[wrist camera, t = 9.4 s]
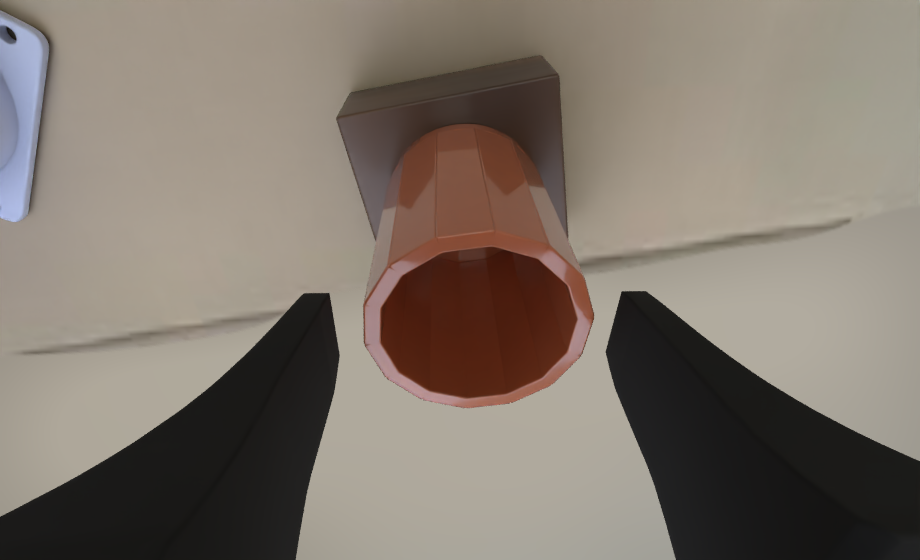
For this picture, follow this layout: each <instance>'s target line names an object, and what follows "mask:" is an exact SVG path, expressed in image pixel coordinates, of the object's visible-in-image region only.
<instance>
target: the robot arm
mask: <svg viewBox="0 0 920 560" xmlns="http://www.w3.org/2000/svg"><path fill="white" fill-rule="evenodd" d="M7 27H9V28H10V29H11V30H13V32H14V33H15V35H16V39H17V40H16V41H15V40H14V39H12V38H11V37H10V36H9V34H8V33H7V29H6V28H7ZM48 56H49V44H48V42H47V40H46V38H45V36H44V35H43V34H42V33H41V32H40V31H39V30H37V29H36V28H34V27H32V26H30V25H28V24H26V23H25V22H23V21H21V20H19V19H17V18H15V17H13V16H11V15H9V14H7V13H5V12H3V11H1V10H0V218H3V219H5V220H8V221H12V222H18V221H20V220H22V219H23V218H25V217H26V216H27V214H28V210H29V203H30V195H31V187H32V180H33V172H34V164H35V157H36V149H37V141H38V133H39V126H40V118H41V110H42V103H43V95H44V87H45V79H46V72H47V64H48ZM606 355H607V359H608V363H609V368H610V372H611V375H612V379H613V382H614V386H615V389H616V392H617V394H618V397H619V399H620V401H621V404H622V406H623V409H624V411H625V414H626V416H627V418H628V421H629V423H630V426H631V428H632V430H633V433H634V435H635V438H636V440H637V442H638V445H639V447H640V450H641V452H642V454H643V457H644V459H645V461H646V464H647V466H648V469H649V471H650V474H651V477H652V480H653V482H654V485H655V488H656V492H657V495H658V499H659V502H660V505H661V508H662V512H663V515H664V518H665V521H666V525H667V529H668V533H669V536H670V540H671V543H672V547H673V550H674V554H675V558H676V560H920V461H918V460H915V459H913V458H911V457H909V456H907V455H904V454H902V453H900V452H898V451H896V450H893V449H891V448H889V447H887V446H885V445H882V444H880V443H878V442H876V441H874V440H872V439H870V438H868V437H865V436H863V435H861V434H859V433H857V432H855V431H853V430H851V429H849V428H847V427H845V426H843V425H841V424H840V423H838V422H836V421H834V420H832V419H830V418H828V417H826V416H824V415H823V414H821V413H819V412H817V411H815V410H813V409H811V408H809V407H808V406H806V405H804V404H803V403H801V402H799V401H797V400H796V399H794V398H793V397H791V396H789V395H788V394H786V393H784V392H783V391H781V390H779V389H777V388H776V387H774V386H773V385H771V384H770V383H768V382H766V381H765V380H763V379H762V378H760V377H759V376H757V375H756V374H754V373H752V372H751V371H750V370H748V369H747V368H745V367H744V366H742V365H741V364H740V363H738V362H737V361H736V360H734V359H733V358H731V357H730V356H729V355H727V354H726V353H725V352H723V351H722V350H720V349H719V348H718V347H716V346H715V345H714V344H712V343H711V342H710V341H708V340H707V339H706V338H705V337H703V336H702V335H701V334H700V333H698V332H697V331H696V330H695V329H693V328H692V327H691V326H689V325H688V324H687V323H686V322H684V321H683V320H682V319H681V318H680V317H678V316H677V315H676V314H675V313H673V312H672V311H671V310H669V309H668V308H667V307H666V306H665V305H663V304H662V303H661V302H659V301H658V300H657V299H655V298H654V297H653V296H652V295H650V294H649V293H648V292H646V291H625V292H624V291H622V292H621V296H620V300H619V304H618V307H617V311H616V315H615V319H614V323H613V326H612V330H611V334H610V338H609V341H608V345H607V349H606ZM338 363H339V349H338V343H337V337H336V331H335V325H334V319H333V312H332V306H331V300H330V294H329V293H304V294H303V295H302V296H301V297H300V298H299V299H298V300H297V301H296V302H295V303H294V304H293V305H292V306H291V307H290V309H289V310H288V311H287V312H286V313H285V314H284V315H283V316H282V317H281V318H280V320H279V321H278V322H277V323H276V324H275V325H274V326H273V327H272V328H271V329H270V330H269V331H268V332H267V333H266V334H265V336H263V338H262V339H261V340H260V341H259V342H258V343H257V344H256V345H255V346H254V347H253V348H252V349H251V350H250V351H249V352H248V353H247V354H246V355H245V356H244V357H243V358H242V359H240V360H239V361H238V362H237V363H236V364H235V365H234V366H233V367H232V368H231V369H230V370H229V371H228V372H226V373H225V374H224V375H223V376H222V377H221V378H220V379H219V380H218V381H216V382H215V383H214V384H213V385H212V386H211V387H209V388H208V389H207V390H206V391H205V392H203V393H202V394H201V395H200V396H198V397H197V398H196V399H194V400H193V401H192V402H190V403H189V404H188V405H187V406H185V407H184V408H183V409H181V410H180V411H179V412H177V413H176V414H175V415H173V416H172V417H170V418H169V419H167V420H166V421H164V422H163V423H161V424H160V425H159V426H157V427H156V428H154V429H153V430H151V431H150V432H148V433H147V434H145V435H144V436H143V437H141V438H140V439H138V440H137V441H135V442H134V443H132V444H131V445H129V446H127V447H126V448H124V449H122V450H121V451H119V452H118V453H116V454H114V455H113V456H111V457H110V458H108V459H106V460H105V461H103V462H101V463H99V464H98V465H96V466H94V467H93V468H91V469H89V470H87V471H86V472H84V473H82V474H81V475H79V476H77V477H75V478H73V479H72V480H70V481H68V482H66V483H64V484H63V485H61V486H59V487H57V488H55V489H53V490H51V491H49V492H47V493H45V494H43V495H41V496H39V497H38V498H36V499H34V500H32V501H30V502H28V503H26V504H24V505H22V506H20V507H19V508H17V509H15V510H13V511H11V512H9V513H7V514H5V515H3V516H1V517H0V560H296V553H297V547H298V541H299V535H300V529H301V523H302V517H303V511H304V506H305V500H306V494H307V490H308V486H309V482H310V477H311V473H312V470H313V466H314V463H315V459H316V456H317V452H318V448H319V445H320V441H321V438H322V434H323V431H324V427H325V424H326V420H327V416H328V413H329V409H330V406H331V402H332V398H333V395H334V390H335V384H336V377H337V370H338Z"/></svg>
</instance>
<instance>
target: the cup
mask: <svg viewBox="0 0 920 560" xmlns="http://www.w3.org/2000/svg"><path fill="white" fill-rule="evenodd" d="M363 312H364V313H363V316H364V317H363V318H364V344H365V347H366V348H367V350H368V351H369V353H370V354H371V356H372V357H373V359H374V360H375V362H376V363H377V365H378V366H379V368H380V370H381V371H382V373H383V374H384V376H385V377H387V379H388V380H390V381H392V382H393V383H395V384H397V385H399V386H400V387H402V388H404V389H405V390H407V391H408V392H410V393H412V394H413V395H415V396H416V397H418V398H420V399H423V400H425V401H431V402H435V403H441V404H446V405H451V406H456V407H461V408H474V407H483V406H492V405H500V404H509V403H510V402H511V403H513V402H515V401H517V400H520V399H522V398H524V397H526V396H529V395H531V394H533V393H535V392H537V391H540V390H542V389H544V388H546V387H549V386H550V385H551V384H553V383H554V382H555V381H556V380H557V379H558V378H559V377H560V376H561V375H562V374H563V373H564V372H565V371H567V370H568V368H570V367H571V365H573V363H574V362H575V361H577V359H579V358H580V356H581V355H582V353H583V350H584V347H585V344H586V341H587V338H588V335H589V332H590V329H591V326H592V323H593V320H594V312H593V308H592V305H591V301H590V297H589V293H588V289H587V285H586V282H585V278H584V276H583V273H582V271H581V269H580V266H579V264H578V262H577V259H576V257H575V255H574V252H573V250H572V248H571V246H570V243H569V241H568V239H567V236H566V234H565V232H564V229H563V227H562V225H561V223H560V220H559V218H558V216H557V213H556V211H555V209H554V206H553V204H552V202H551V200H550V197H549V195H548V193H547V190H546V188H545V186H544V183H543V181H542V179H541V177H540V174H539V172H538V170H537V167H536V166H535V164H534V163H533V162H532V161H531V159H530V157H529V155H528V154H527V153H526V152H525V150H524V149H523V148H522V147H521V146H520V145H519V144H518V143H517V142H516V141H515V140H513V139H512V138H511V137H509V136H508V135H506V134H504V133H502V132H500V131H498V130H496V129H493V128H490V127H487V126H482V125H477V124H455V125H449V126H445V127H442V128H439V129H436V130H433V131H431V132H429V133H427V134H425V135H424V136H422V137H421V138H419V139H418V140H416V141H415V142H414V143H413V144H412V145H411V146H409V148H408V149H407V150H406V151H405V152H404V153H403V154H402V156H401V158H400V159H399V161H398V162H397V164H396V166H395V168H394V170H393V173H392V177H391V179H390V181H389V183H388V186H387V191H386V196H385V201H384V206H383V211H382V216H381V221H380V226H379V231H378V235H377V240H376V245H375V250H374V255H373V260H372V265H371V270H370V275H369V280H368V285H367V290H366V295H365V299H364V304H363Z"/></svg>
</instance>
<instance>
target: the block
mask: <svg viewBox="0 0 920 560" xmlns="http://www.w3.org/2000/svg"><path fill="white" fill-rule="evenodd" d="M336 120H337V123H338V126H339V129H340V132H341V135H342V138H343V141H344V145H345V148H346V151H347V154H348V157H349V160H350V163H351V166H352V169H353V172H354V175H355V179H356V182H357V185H358V188H359V191H360V194H361V197H362V200H363V203H364V206H365V209H366V213H367V216H368V219H369V222H370V225H371V228H372V231H373V234H374V237H375V240H377V235H378V231H379V226H380V221H381V216H382V211H383V206H384V201H385V196H386V191H387V186H388V183H389V181H390V179H391V177H392V173H393V170H394V168H395V166H396V164H397V162H398V161H399V159H400V158H401V156H402V154H403V153H404V152H405V151H406V150H407V149H408V148H409V146H411V145H412V144H413V143H414V142H415V141H416V140H418V139H419V138H421V137H422V136H424V135H425V134H427V133H429V132H431V131H433V130H436V129H439V128H442V127H445V126H449V125H455V124H477V125H482V126H487V127H490V128H493V129H496V130H498V131H500V132H502V133H504V134H506V135H508V136H509V137H511V138H512V139H513V140H515V141H516V142H517V143H518V144H519V145H520V146H521V147H522V148H523V149H524V150H525V152H526V153H527V154H528V155H529V157H530V159H531V161H532V162H533V163H534V164H535V166H536V167H537V170H538V172H539V174H540V177H541V179H542V181H543V183H544V186H545V188H546V190H547V193H548V195H549V197H550V200H551V202H552V204H553V206H554V209H555V211H556V213H557V216H558V218H559V220H560V223H561V225H562V227H563V229H564V232H565V234H566V236H567V239H568V224H567V206H566V188H565V170H564V152H563V134H562V116H561V98H560V80H559V75H558V73H557V72H556V71H555V70H554V69H553V68H552V66H551V65H550V64H549V63H548V62H547V61H546V60H545V59H544V58H543V56H541V55H539V56H534V57H529V58H524V59H519V60H514V61H509V62H504V63H499V64H494V65H489V66H484V67H479V68H473V69H468V70H463V71H458V72H453V73H448V74H443V75H438V76H433V77H428V78H423V79H418V80H413V81H408V82H403V83H398V84H393V85H388V86H383V87H377V88H372V89H367V90H362V91H357V92H352V93H350V94H349V96H348V98H347V100H346V101H345V103H344V105H343V107H342V108H341V110H340V112H339V114H338V116H337V118H336Z"/></svg>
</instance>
